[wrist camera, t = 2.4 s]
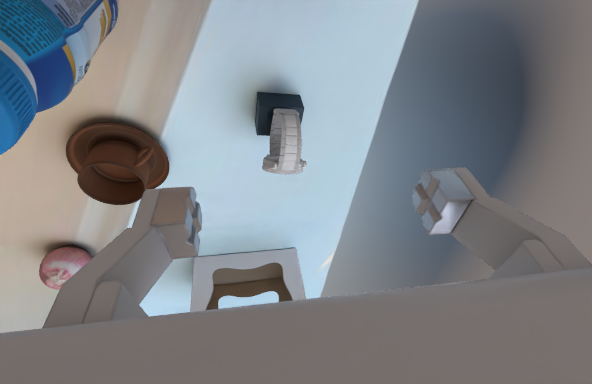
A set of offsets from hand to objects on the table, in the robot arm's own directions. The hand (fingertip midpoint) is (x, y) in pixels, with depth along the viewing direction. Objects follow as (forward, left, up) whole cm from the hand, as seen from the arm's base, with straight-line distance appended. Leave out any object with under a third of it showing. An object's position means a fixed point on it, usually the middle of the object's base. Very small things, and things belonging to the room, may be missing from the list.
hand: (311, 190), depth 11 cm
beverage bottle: (-12, -12, -28) cm, 33 cm away
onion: (+4, -54, -28) cm, 61 cm away
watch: (+11, -8, -28) cm, 31 cm away
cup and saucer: (0, -27, -28) cm, 39 cm away
